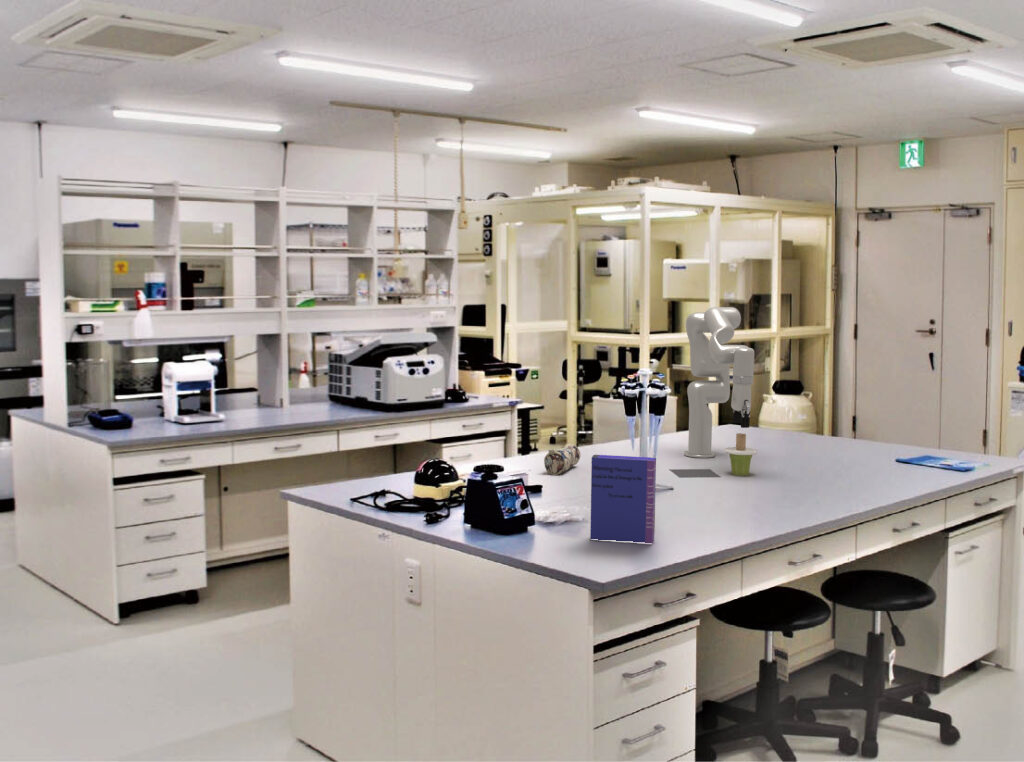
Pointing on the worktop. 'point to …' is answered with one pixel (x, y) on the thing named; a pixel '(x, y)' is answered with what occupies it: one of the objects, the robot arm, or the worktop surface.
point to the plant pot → (740, 464)
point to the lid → (740, 446)
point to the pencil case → (561, 459)
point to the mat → (694, 473)
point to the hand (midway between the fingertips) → (740, 425)
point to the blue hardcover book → (623, 498)
